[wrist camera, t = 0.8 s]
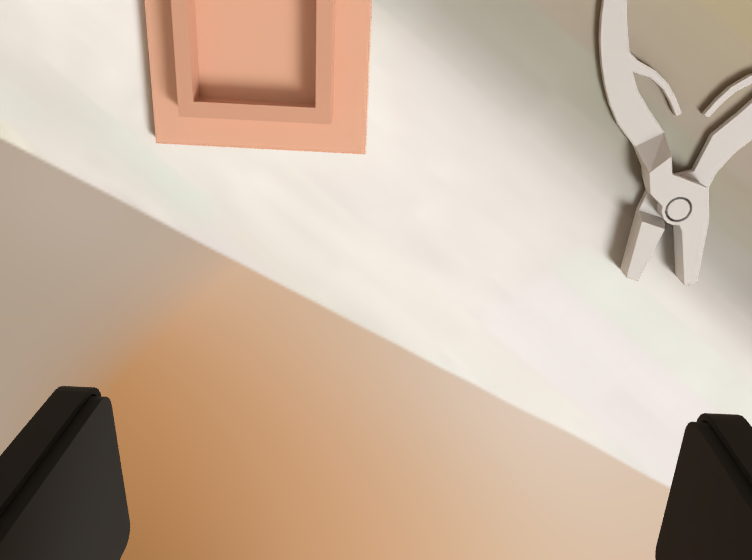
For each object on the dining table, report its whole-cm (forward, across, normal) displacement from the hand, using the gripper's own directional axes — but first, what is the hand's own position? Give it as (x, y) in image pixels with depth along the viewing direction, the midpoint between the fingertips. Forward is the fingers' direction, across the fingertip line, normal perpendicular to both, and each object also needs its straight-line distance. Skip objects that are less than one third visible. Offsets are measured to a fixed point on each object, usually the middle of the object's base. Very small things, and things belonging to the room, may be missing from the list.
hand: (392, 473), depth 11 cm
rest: (+24, +7, -5) cm, 25 cm away
